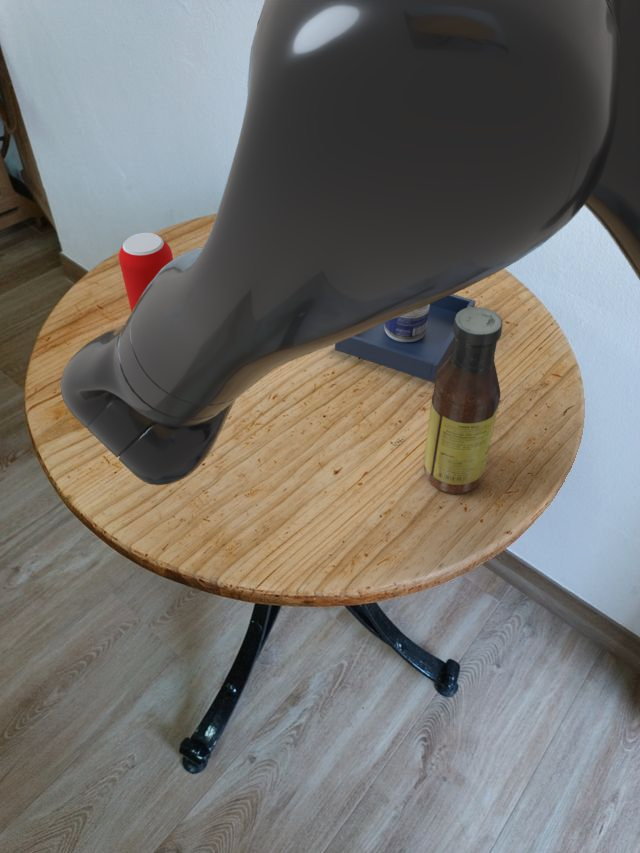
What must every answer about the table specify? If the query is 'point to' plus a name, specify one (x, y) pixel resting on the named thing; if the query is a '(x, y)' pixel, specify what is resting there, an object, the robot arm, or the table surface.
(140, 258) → the beverage can
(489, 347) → the sauce bottle
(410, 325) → the pill bottle
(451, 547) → the table surface
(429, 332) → the blue tray
